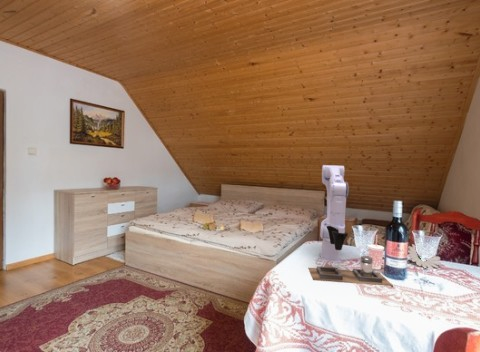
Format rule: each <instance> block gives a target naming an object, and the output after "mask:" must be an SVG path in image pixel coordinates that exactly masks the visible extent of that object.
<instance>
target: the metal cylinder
mask: <svg viewBox="0 0 480 352" xmlns="http://www.w3.org/2000/svg"><path fill="white" fill-rule="evenodd" d="M368 256H369V255H363V256H361V257H360V275H361V276H365V277H372V270H373V268H372V262H373V258H371V257H368Z"/></svg>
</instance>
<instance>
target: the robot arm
mask: <svg viewBox="0 0 480 352" xmlns="http://www.w3.org/2000/svg"><path fill="white" fill-rule="evenodd" d="M345 171H346V170H345V166H344V165H334V164H333V165H332V164H331V165H330V164H329V165H328V164H327V165H326V164H323V165H322V168H321V182H322V184H323V185H325V187H326V218H324V219H323V220H322V221H321V223H320V231H319V232H320V234H319V236H320V238H321V239H322V241H321V253H319V257H320V258H321V260H322V261H323V262H332V263H343V261H342V260H341V258H340V251H342V249H343V245H344V242H345V240H346V239H347V237H348V235H349V233H348V232H346V209H347V208H346V205H347V198H348V195H349V183H348V182H347V181H345V179H344V177H345Z"/></svg>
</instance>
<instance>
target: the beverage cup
mask: <svg viewBox="0 0 480 352" xmlns="http://www.w3.org/2000/svg"><path fill="white" fill-rule="evenodd" d="M375 236H376V237H375V244H371V245H370V244H368V245H367V246H368V256H369V257H371V258H373V262H372V270H382V269H381V268H382V265H383V264H382V262H383V258H382V257H384V256H383V254H384V250H385V247H384V246H383V245H379V244H378V234H376V235H375Z"/></svg>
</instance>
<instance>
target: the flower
mask: <svg viewBox="0 0 480 352" xmlns="http://www.w3.org/2000/svg"><path fill="white" fill-rule="evenodd" d="M411 245H412V246H410V245H408V247H407V248H408V254H407V256H408V258H411V259H407V260H408V261H407V262H413V263H416V266H418V267H423V268H424V269H425V268H426V269H427V268H428V269H430V270H434V269H435V268H436V269H439V266H440V265H441V264H442V262H440V260H441V257H440V256H436V255H437V254H438V252H436V255H435V256H434V257H433V258H431V259H428V260H426V261H424V262H423V261H422V260H421V258H420V257H419V256H418V255H417V253H416V250H415V246H416V244H413V243H411ZM367 256H368V257H369V255H367ZM383 259H384V256H383V257H382V260H383ZM384 260H385V259H384Z"/></svg>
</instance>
